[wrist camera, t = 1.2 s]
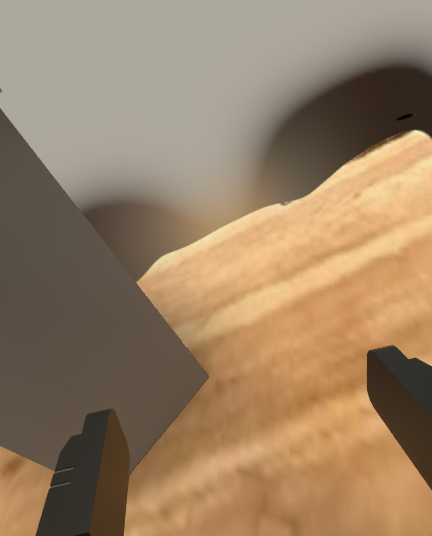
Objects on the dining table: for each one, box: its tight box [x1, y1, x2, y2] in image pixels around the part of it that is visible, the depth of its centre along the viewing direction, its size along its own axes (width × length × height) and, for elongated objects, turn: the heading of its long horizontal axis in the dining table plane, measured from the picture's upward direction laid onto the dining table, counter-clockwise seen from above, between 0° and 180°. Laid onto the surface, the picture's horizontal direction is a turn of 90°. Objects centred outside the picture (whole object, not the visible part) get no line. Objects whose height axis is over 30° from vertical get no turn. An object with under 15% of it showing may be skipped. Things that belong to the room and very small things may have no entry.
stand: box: [0, 89, 209, 474], centre depth 31 cm, size 17×15×32 cm
